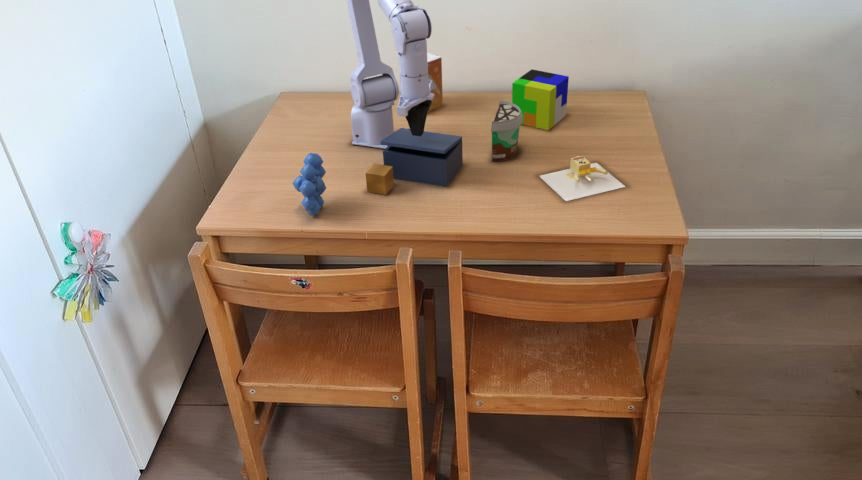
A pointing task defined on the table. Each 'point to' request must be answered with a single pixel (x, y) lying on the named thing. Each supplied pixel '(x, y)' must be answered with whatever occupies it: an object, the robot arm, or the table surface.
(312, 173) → the grapes
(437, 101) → the small box
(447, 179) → the toy box
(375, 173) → the block
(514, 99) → the puzzle toy
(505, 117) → the food container
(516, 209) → the table surface
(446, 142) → the lid
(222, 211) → the table surface
